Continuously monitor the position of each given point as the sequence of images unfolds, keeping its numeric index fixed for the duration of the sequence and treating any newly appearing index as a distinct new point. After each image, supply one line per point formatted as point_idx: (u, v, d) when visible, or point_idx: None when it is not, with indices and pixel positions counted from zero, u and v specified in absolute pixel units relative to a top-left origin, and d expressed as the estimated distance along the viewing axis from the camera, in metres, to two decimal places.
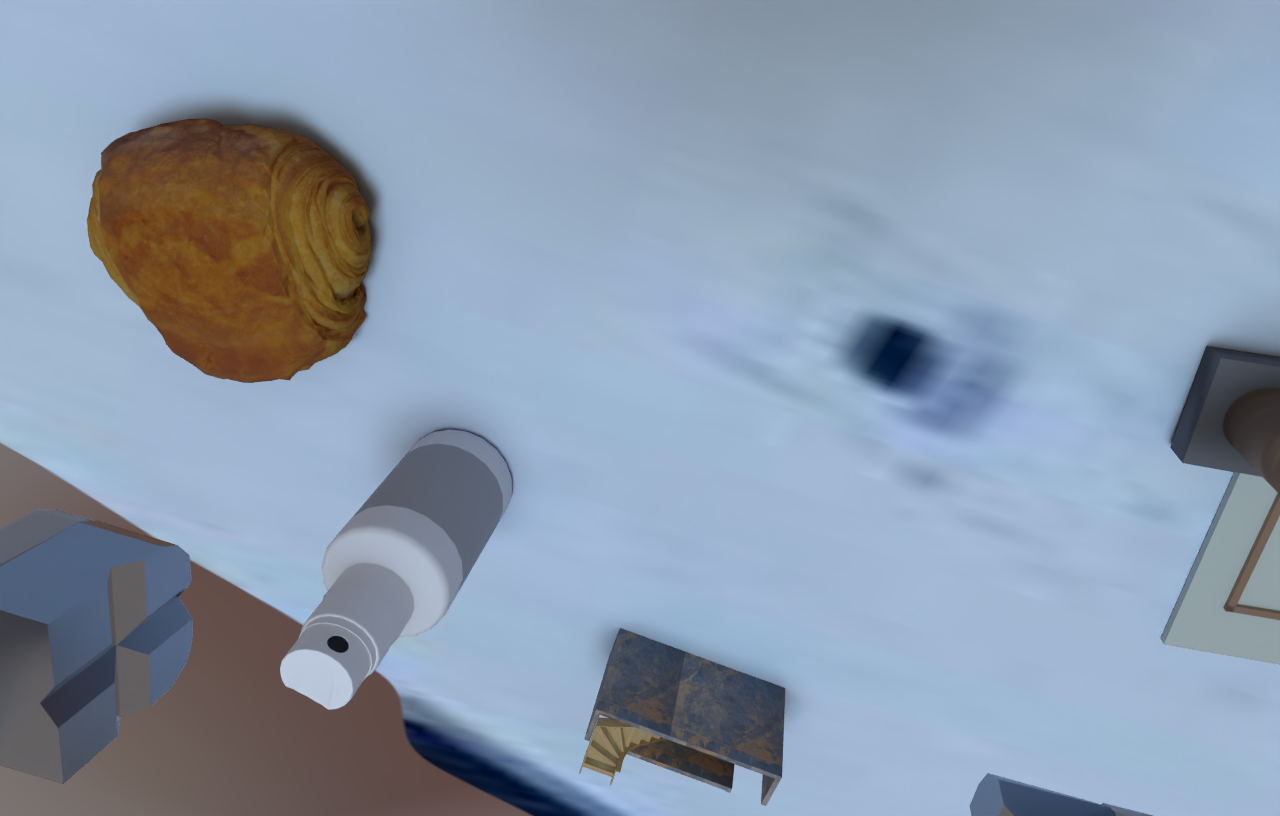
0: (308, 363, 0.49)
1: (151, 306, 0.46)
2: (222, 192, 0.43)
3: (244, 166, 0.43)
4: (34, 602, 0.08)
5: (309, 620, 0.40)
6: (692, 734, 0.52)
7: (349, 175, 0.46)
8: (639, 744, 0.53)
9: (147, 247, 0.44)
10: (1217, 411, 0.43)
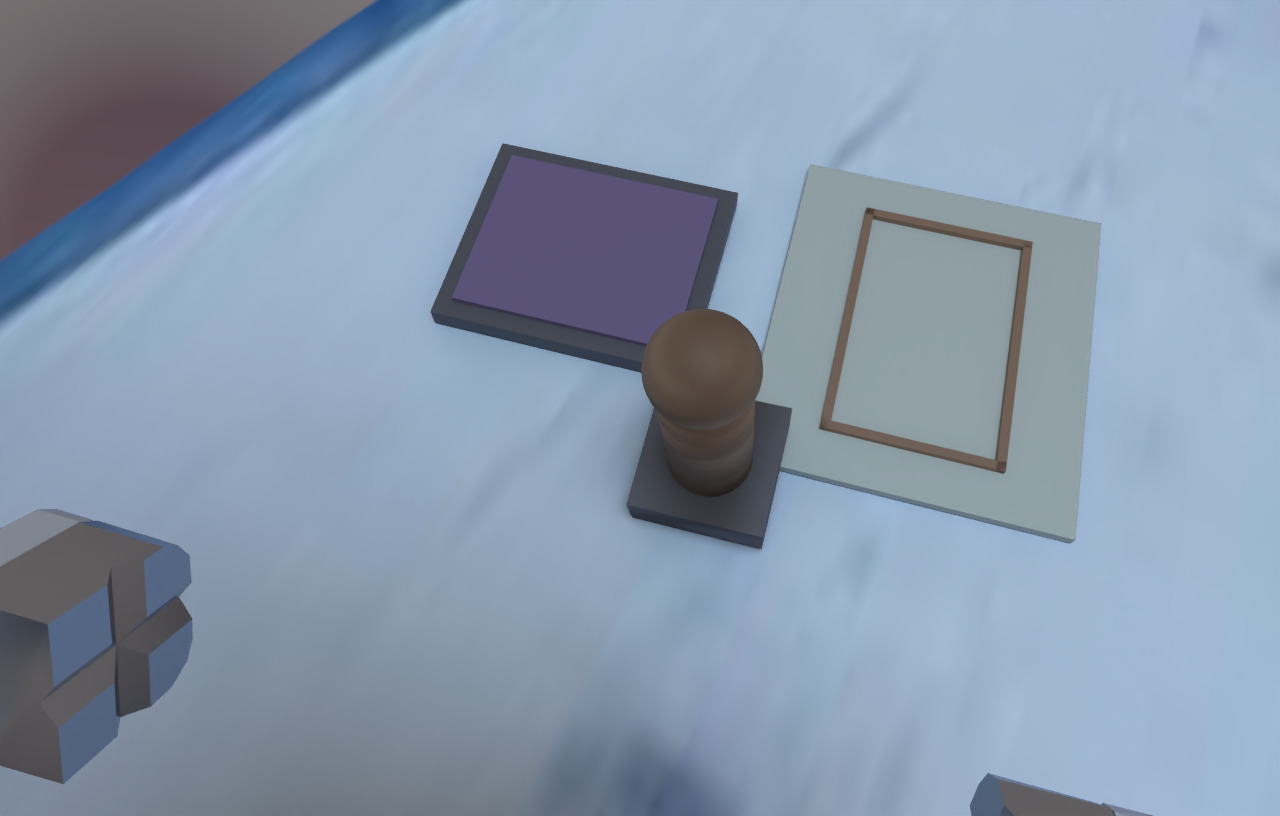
0: None
1: None
2: None
3: None
4: (34, 602, 0.08)
5: None
6: None
7: None
8: None
9: None
10: (694, 503, 0.35)
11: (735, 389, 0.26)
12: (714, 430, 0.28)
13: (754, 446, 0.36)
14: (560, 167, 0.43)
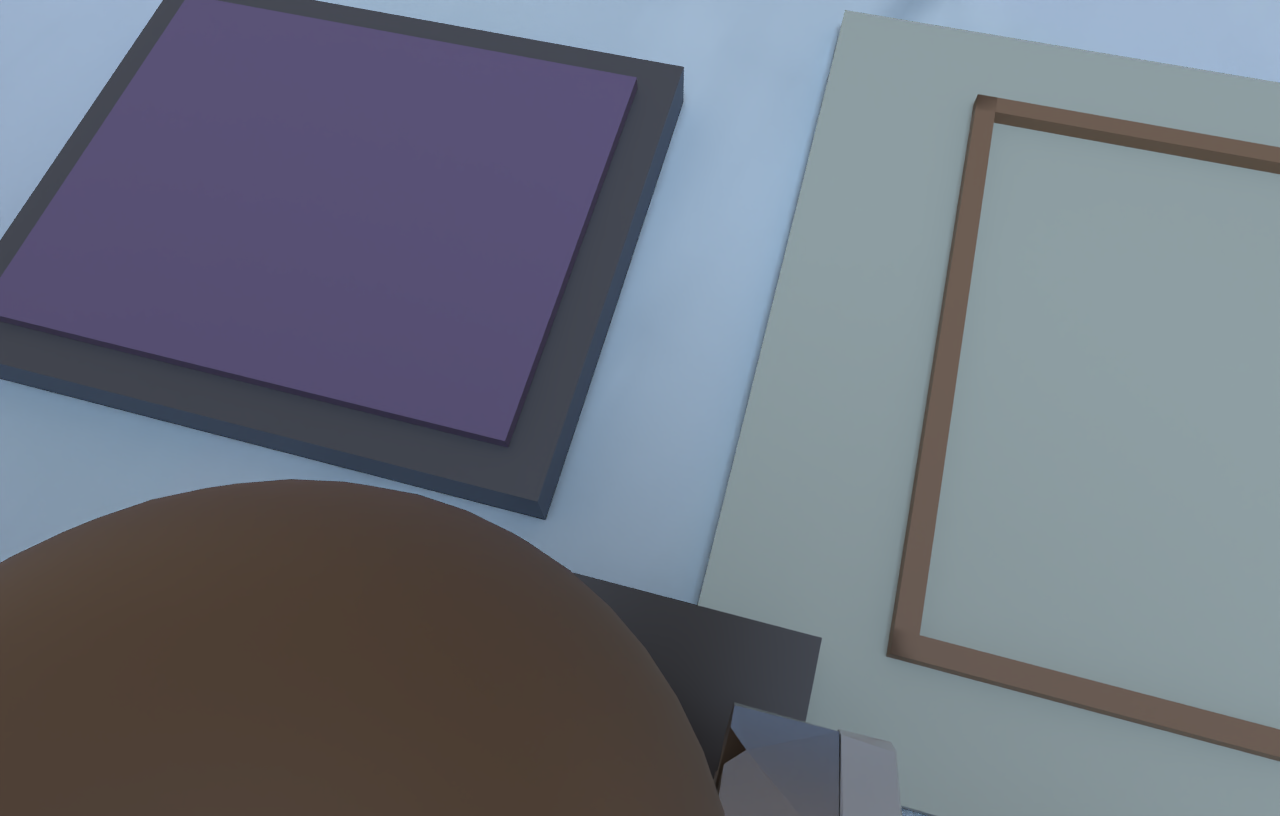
0: None
1: None
2: None
3: None
4: None
5: None
6: None
7: None
8: None
9: None
10: None
11: None
12: None
13: (709, 761, 0.12)
14: (289, 18, 0.19)
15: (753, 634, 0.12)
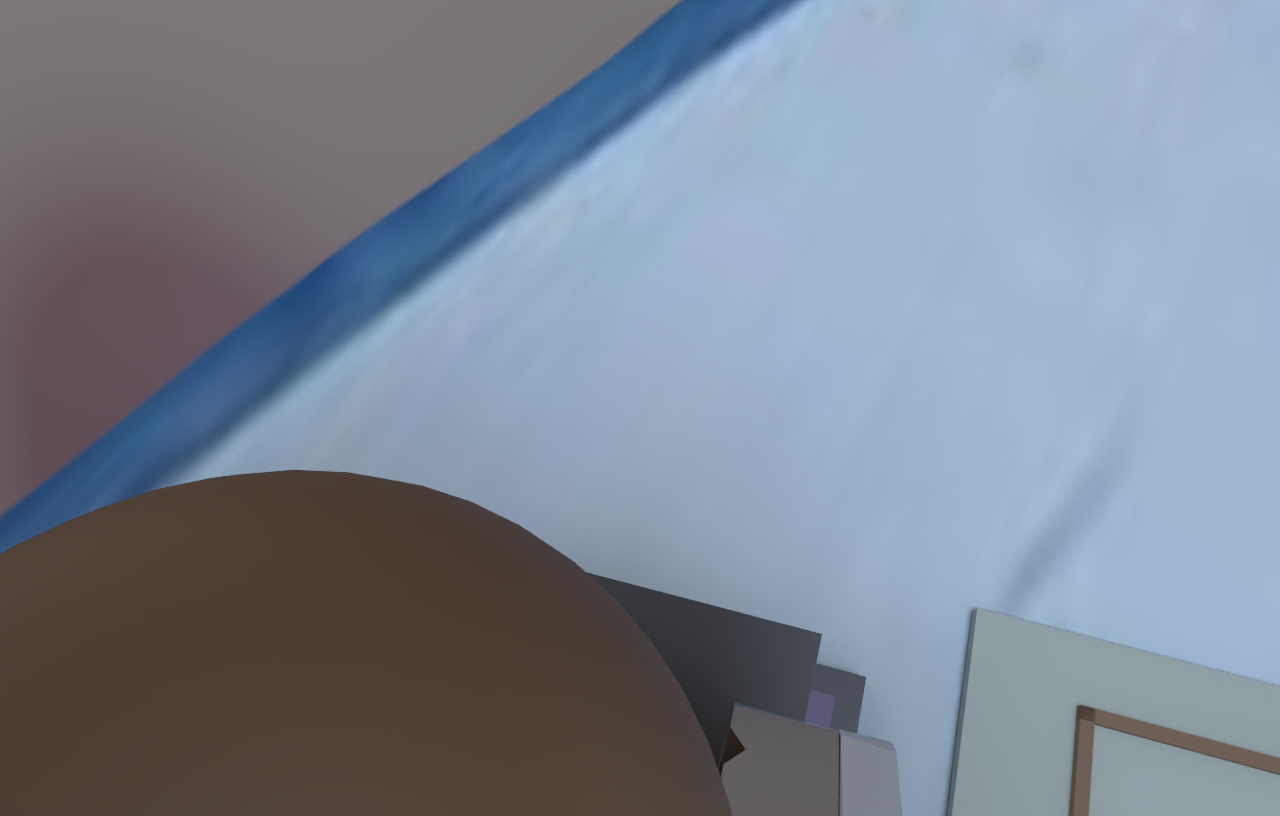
0: None
1: None
2: None
3: None
4: None
5: None
6: None
7: None
8: None
9: None
10: None
11: None
12: None
13: None
14: None
15: (753, 630, 0.12)
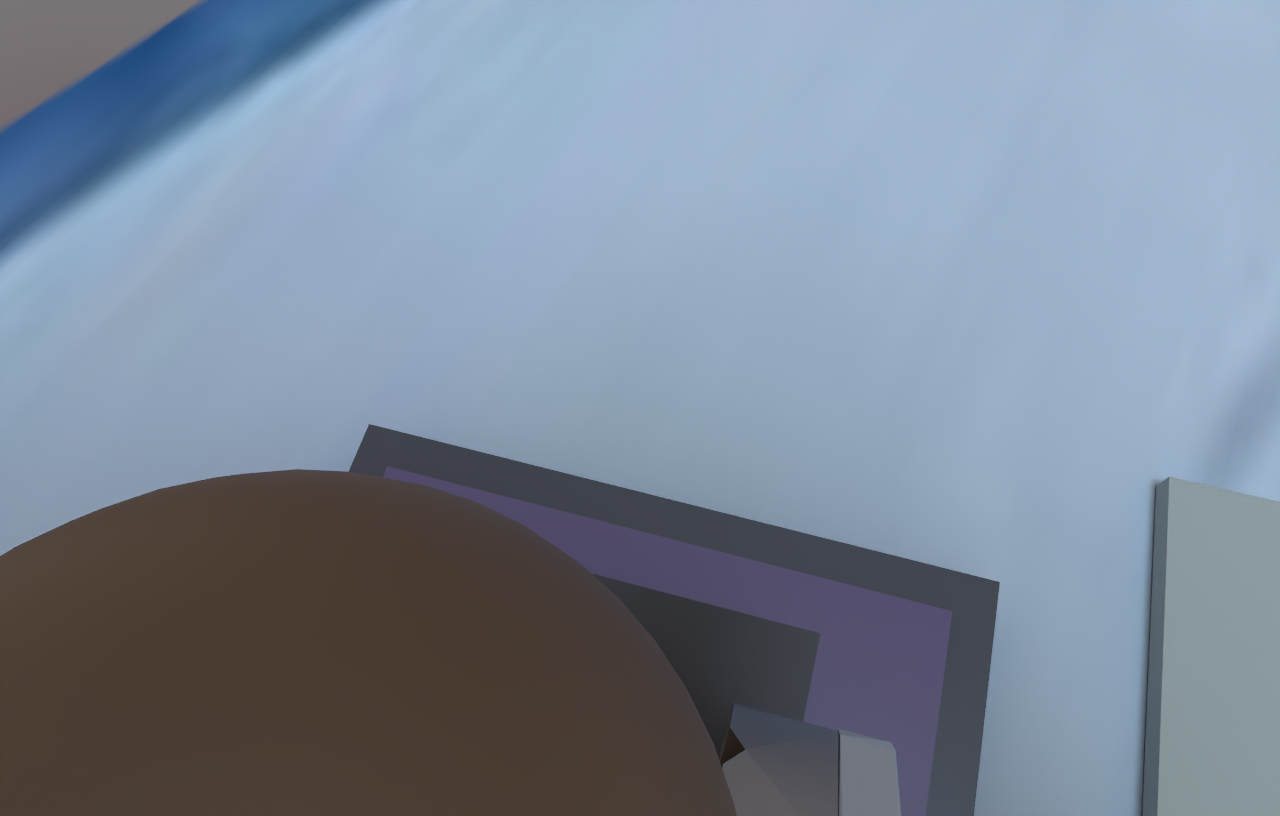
0: None
1: None
2: None
3: None
4: None
5: None
6: None
7: None
8: None
9: None
10: None
11: None
12: None
13: None
14: (514, 505, 0.16)
15: (752, 629, 0.12)
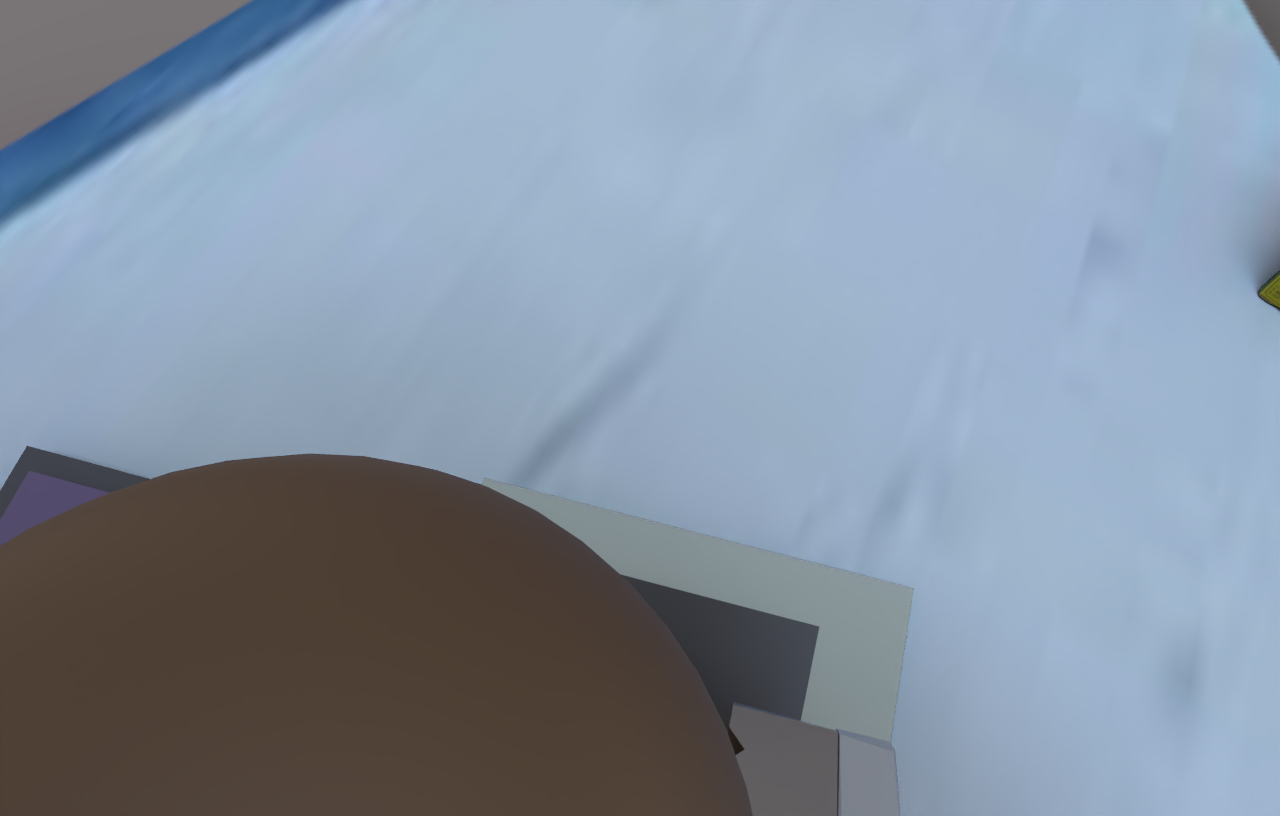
0: None
1: None
2: None
3: None
4: None
5: None
6: None
7: None
8: None
9: None
10: None
11: None
12: None
13: None
14: (96, 493, 0.28)
15: (750, 623, 0.12)
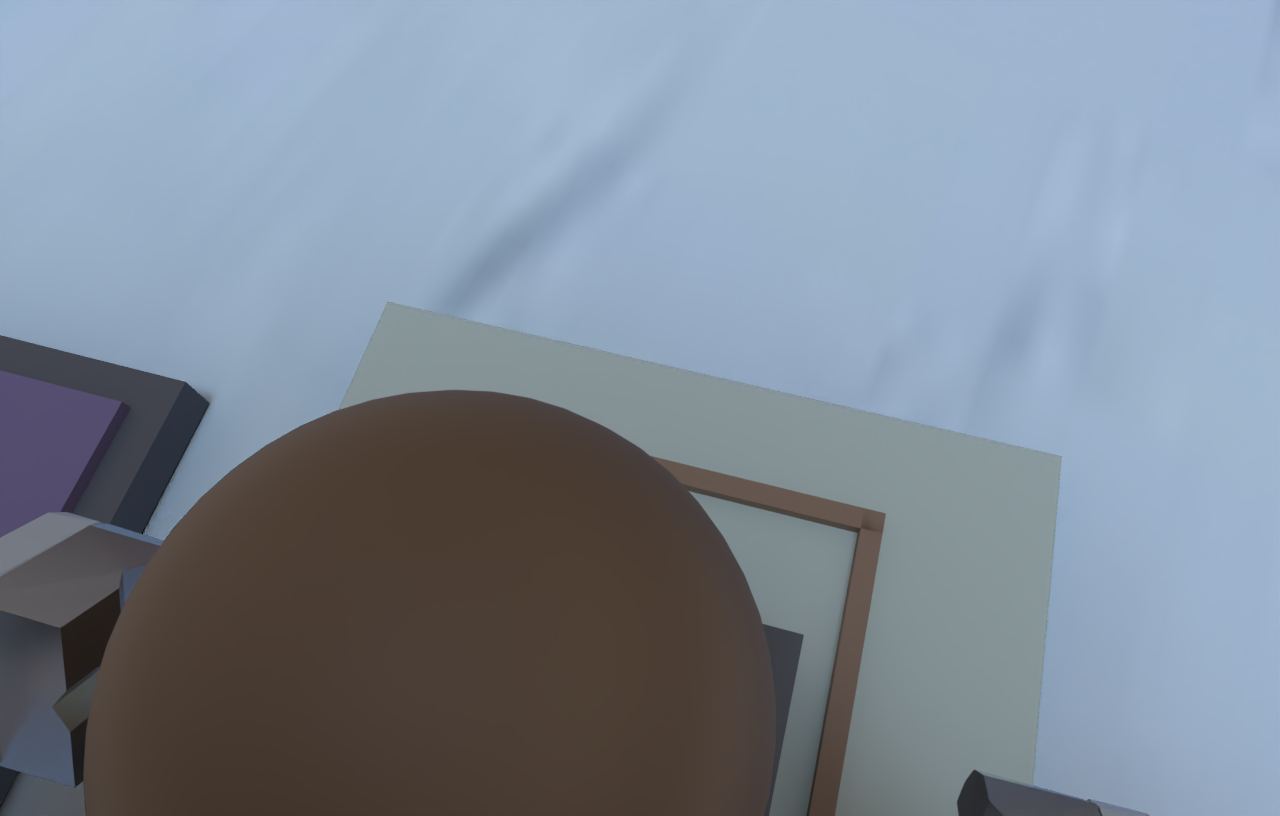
0: None
1: None
2: None
3: None
4: (46, 606, 0.08)
5: None
6: None
7: None
8: None
9: None
10: None
11: None
12: None
13: None
14: None
15: None
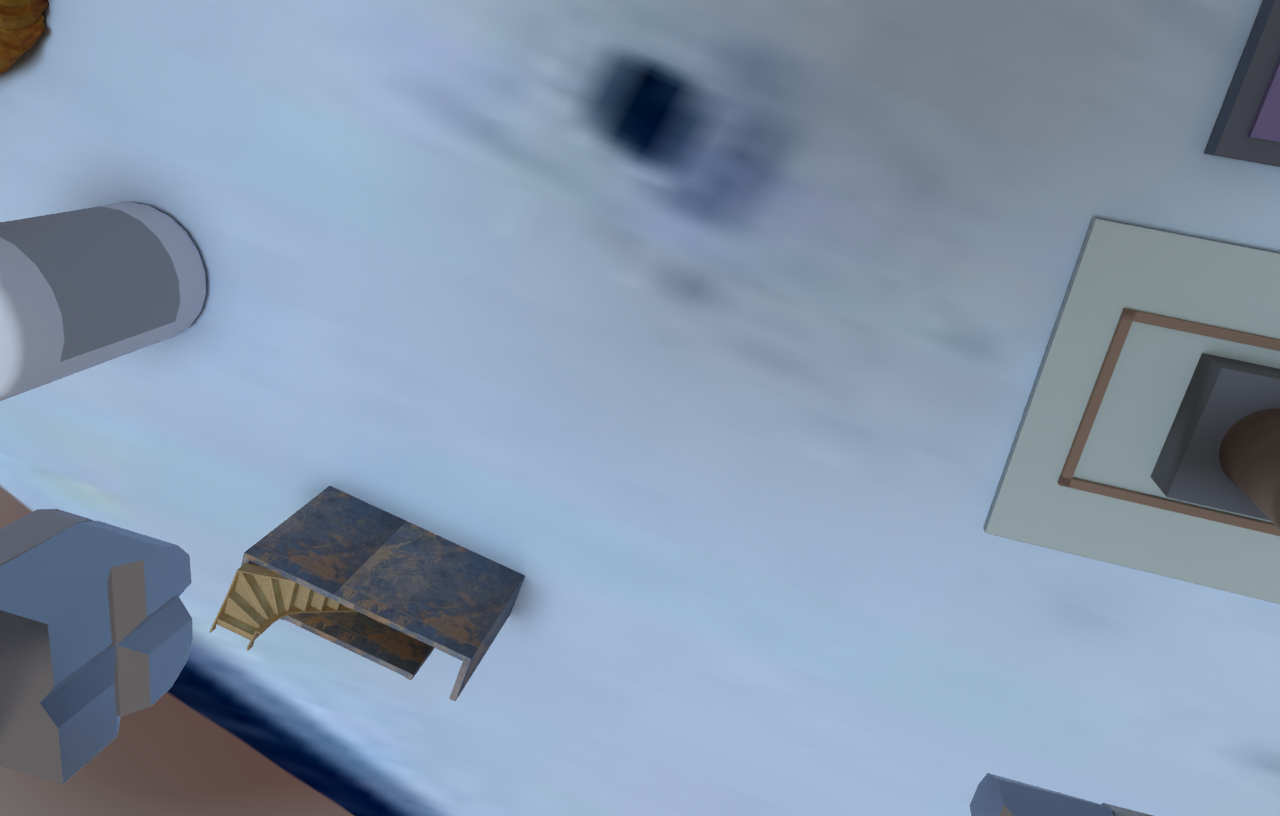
0: None
1: None
2: None
3: None
4: (34, 603, 0.08)
5: None
6: (366, 598, 0.40)
7: None
8: (305, 610, 0.41)
9: None
10: (1213, 434, 0.34)
11: None
12: None
13: None
14: None
15: None
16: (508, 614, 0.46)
